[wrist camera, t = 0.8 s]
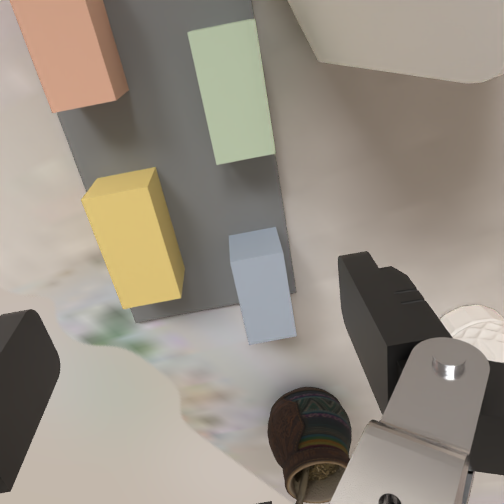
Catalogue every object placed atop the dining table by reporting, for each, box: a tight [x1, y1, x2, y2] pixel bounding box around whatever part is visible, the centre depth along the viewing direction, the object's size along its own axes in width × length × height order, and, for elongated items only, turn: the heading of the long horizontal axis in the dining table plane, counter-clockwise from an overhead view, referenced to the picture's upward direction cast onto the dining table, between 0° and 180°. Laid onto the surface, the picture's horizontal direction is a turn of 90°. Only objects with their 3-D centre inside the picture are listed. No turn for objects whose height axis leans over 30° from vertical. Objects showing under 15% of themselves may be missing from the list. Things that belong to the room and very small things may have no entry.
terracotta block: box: [10, 0, 129, 113], centre depth 24 cm, size 7×4×4 cm, turn 10°
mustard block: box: [81, 167, 185, 309], centre depth 30 cm, size 8×4×4 cm, turn 10°
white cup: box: [440, 305, 504, 363], centre depth 35 cm, size 8×8×10 cm
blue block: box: [229, 227, 297, 345], centre depth 32 cm, size 7×4×4 cm, turn 10°
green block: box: [188, 19, 276, 165], centre depth 26 cm, size 7×4×4 cm, turn 10°
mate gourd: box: [268, 387, 351, 504], centre depth 37 cm, size 7×8×10 cm
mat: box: [57, 0, 296, 323], centre depth 30 cm, size 22×13×1 cm, turn 10°
